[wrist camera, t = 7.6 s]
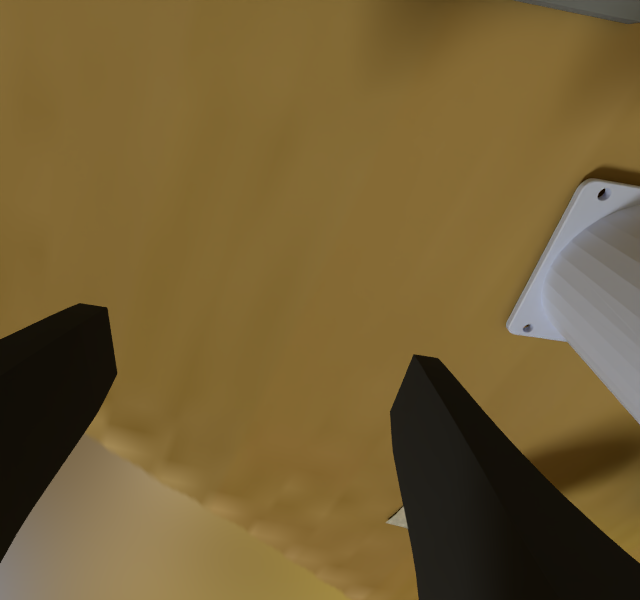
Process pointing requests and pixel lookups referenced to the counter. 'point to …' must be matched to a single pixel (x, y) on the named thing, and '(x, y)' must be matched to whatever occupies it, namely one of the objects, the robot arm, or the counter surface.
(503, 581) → the robot arm
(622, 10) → the mat
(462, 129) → the counter surface
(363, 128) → the counter surface
